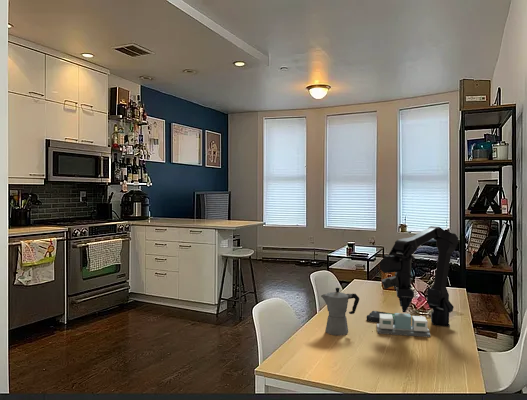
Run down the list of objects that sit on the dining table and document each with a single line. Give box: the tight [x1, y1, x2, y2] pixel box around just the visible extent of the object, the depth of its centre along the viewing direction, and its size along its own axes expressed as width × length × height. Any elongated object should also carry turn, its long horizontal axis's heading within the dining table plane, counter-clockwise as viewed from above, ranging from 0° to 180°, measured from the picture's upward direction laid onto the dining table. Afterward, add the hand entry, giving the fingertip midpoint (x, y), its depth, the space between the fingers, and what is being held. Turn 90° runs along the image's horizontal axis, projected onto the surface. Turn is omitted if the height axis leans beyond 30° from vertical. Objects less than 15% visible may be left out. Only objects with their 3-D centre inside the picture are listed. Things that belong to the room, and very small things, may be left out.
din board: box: [376, 314, 432, 338], centre depth 179 cm, size 20×10×6 cm, turn 78°
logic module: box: [394, 312, 412, 329], centre depth 179 cm, size 6×5×5 cm
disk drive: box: [366, 310, 395, 325], centre depth 194 cm, size 10×3×15 cm
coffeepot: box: [320, 287, 360, 336], centre depth 177 cm, size 15×9×18 cm, turn 90°
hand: (402, 309), depth 179 cm, fingers open, 9 cm apart
